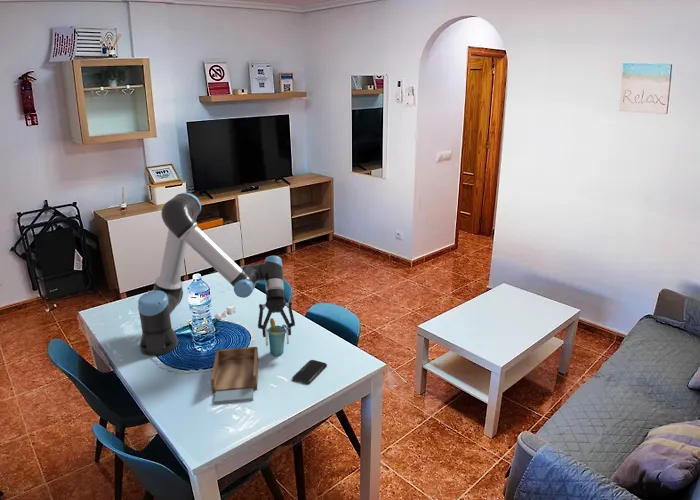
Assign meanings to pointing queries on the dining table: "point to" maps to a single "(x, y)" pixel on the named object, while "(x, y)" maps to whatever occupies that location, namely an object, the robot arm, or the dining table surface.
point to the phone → (309, 372)
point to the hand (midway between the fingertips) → (277, 343)
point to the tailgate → (233, 395)
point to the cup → (276, 338)
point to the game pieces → (229, 310)
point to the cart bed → (235, 369)
